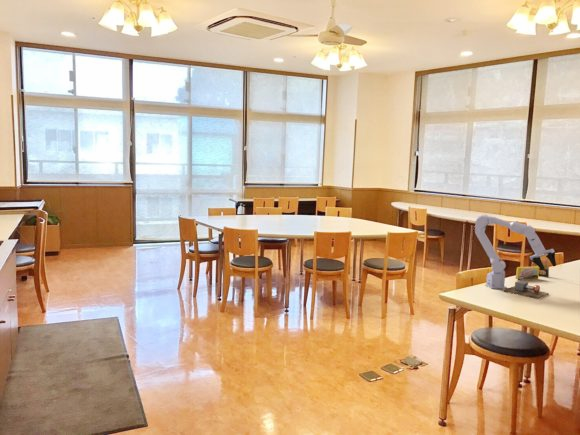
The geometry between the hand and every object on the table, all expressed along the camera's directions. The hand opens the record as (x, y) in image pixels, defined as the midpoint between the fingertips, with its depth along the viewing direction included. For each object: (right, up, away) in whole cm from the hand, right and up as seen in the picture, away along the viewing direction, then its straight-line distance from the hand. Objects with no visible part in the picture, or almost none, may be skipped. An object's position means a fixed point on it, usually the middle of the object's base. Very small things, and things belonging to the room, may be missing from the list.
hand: (549, 267), depth 267 cm
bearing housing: (-13, -15, +5) cm, 20 cm away
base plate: (-12, -15, +3) cm, 19 cm away
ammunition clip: (+20, -11, +47) cm, 52 cm away
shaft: (-11, -14, +2) cm, 17 cm away
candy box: (+6, -12, +36) cm, 38 cm away
